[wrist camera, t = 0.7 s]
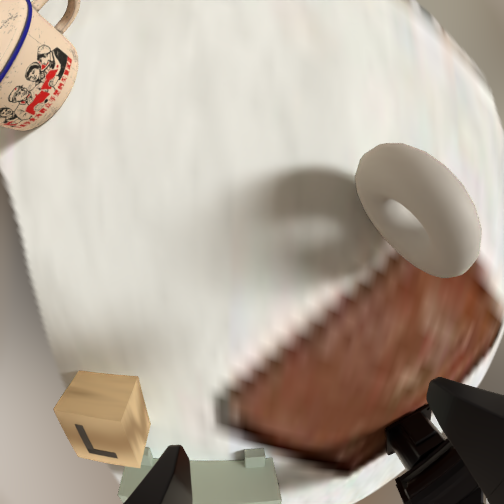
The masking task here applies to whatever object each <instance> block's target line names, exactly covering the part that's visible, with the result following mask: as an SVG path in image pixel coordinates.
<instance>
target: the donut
mask: <svg viewBox="0 0 504 504" xmlns="http://www.w3.org/2000/svg"><path fill="white" fill-rule="evenodd" d="M355 183H356V189H357V194H358V197H359V199H360V201H361V203H362V206H363V208H364V210H365V212H366V214H367V215H368V217H369V219H370V220H371V222H372V223H373V225H374V226H375V227H376V229H377V230H378V231H379V233H380V234H381V235H382V236H383V237H384V239H385V240H386V241H387V242H388V243H389V244H390V245H391V246H392V247H393V248H394V249H395V250H396V251H397V252H398V253H399V254H400V255H401V256H402V257H403V258H405V259H406V260H407V261H409V262H410V263H411V264H413V265H414V266H415V267H417V268H419V269H421V270H423V271H424V272H426V273H428V274H430V275H433V276H437V277H441V278H450V277H455V276H459V275H461V274H464V273H465V272H466V271H467V270H468V269H469V268H470V267H471V265H472V264H473V263H474V262H475V260H476V259H477V257H478V255H479V252H480V243H481V232H482V229H481V225H480V222H479V218H478V214H477V211H476V208H475V205H474V203H473V201H472V199H471V198H470V196H469V194H468V192H467V191H466V189H465V187H464V186H463V184H462V183H461V182H460V181H459V180H458V179H457V177H456V176H455V175H454V174H453V173H452V172H451V171H450V170H449V169H448V168H447V167H446V166H445V165H444V164H443V163H441V162H440V161H438V160H437V159H435V158H434V157H433V156H431V155H430V154H428V153H427V152H425V151H422V150H419V149H417V148H414V147H411V146H409V145H406V144H403V143H385V144H380V145H378V146H376V147H375V148H373V149H371V150H370V151H368V152H367V153H365V154H364V155H363V156H362V158H361V159H360V161H359V165H358V168H357V171H356V175H355Z"/></svg>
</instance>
